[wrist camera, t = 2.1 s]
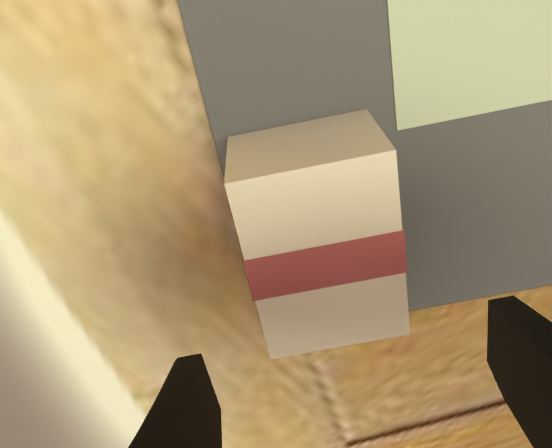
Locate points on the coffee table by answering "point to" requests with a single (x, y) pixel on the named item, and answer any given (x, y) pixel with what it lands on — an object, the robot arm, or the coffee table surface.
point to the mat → (408, 116)
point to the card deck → (320, 232)
